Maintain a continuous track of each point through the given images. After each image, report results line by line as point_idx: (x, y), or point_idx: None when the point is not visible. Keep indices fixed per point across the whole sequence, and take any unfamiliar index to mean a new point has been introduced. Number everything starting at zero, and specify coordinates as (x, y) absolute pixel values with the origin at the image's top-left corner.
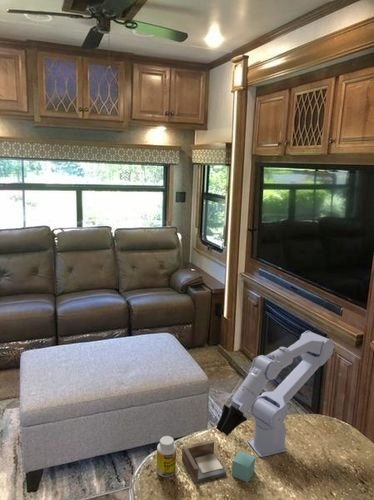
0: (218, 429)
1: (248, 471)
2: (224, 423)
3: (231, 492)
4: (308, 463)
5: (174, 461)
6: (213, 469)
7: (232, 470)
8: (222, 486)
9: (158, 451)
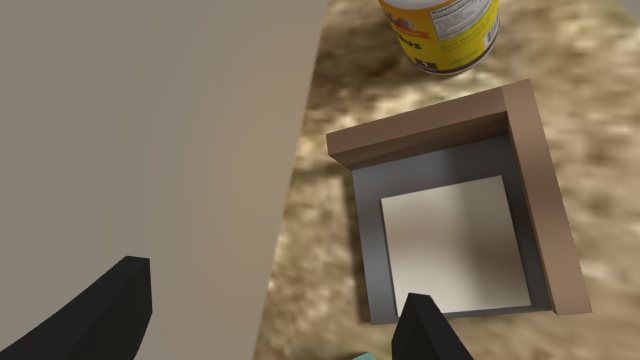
0: (402, 312)
1: None
2: (81, 303)
3: (278, 307)
4: None
5: (403, 36)
6: (395, 260)
7: (356, 358)
8: (315, 279)
9: None
